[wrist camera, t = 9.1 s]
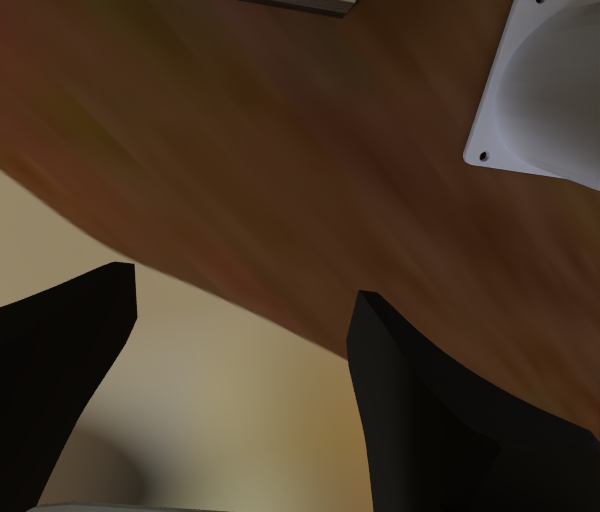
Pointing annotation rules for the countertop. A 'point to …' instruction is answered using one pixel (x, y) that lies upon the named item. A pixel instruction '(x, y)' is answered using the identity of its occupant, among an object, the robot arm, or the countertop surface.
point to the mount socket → (311, 6)
